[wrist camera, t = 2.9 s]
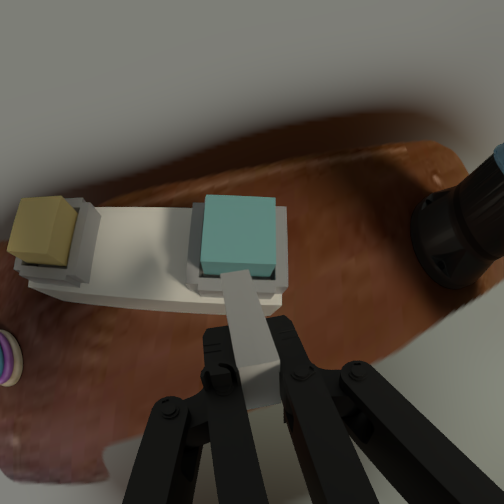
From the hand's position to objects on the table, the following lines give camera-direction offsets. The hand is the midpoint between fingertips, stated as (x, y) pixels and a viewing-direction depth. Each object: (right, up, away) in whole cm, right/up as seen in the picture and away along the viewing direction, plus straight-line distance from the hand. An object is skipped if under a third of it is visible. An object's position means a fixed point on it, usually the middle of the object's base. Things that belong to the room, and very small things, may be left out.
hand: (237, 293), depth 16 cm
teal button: (0, +3, +9) cm, 9 cm away
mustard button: (-18, +4, +7) cm, 20 cm away
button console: (-10, 0, +18) cm, 21 cm away
